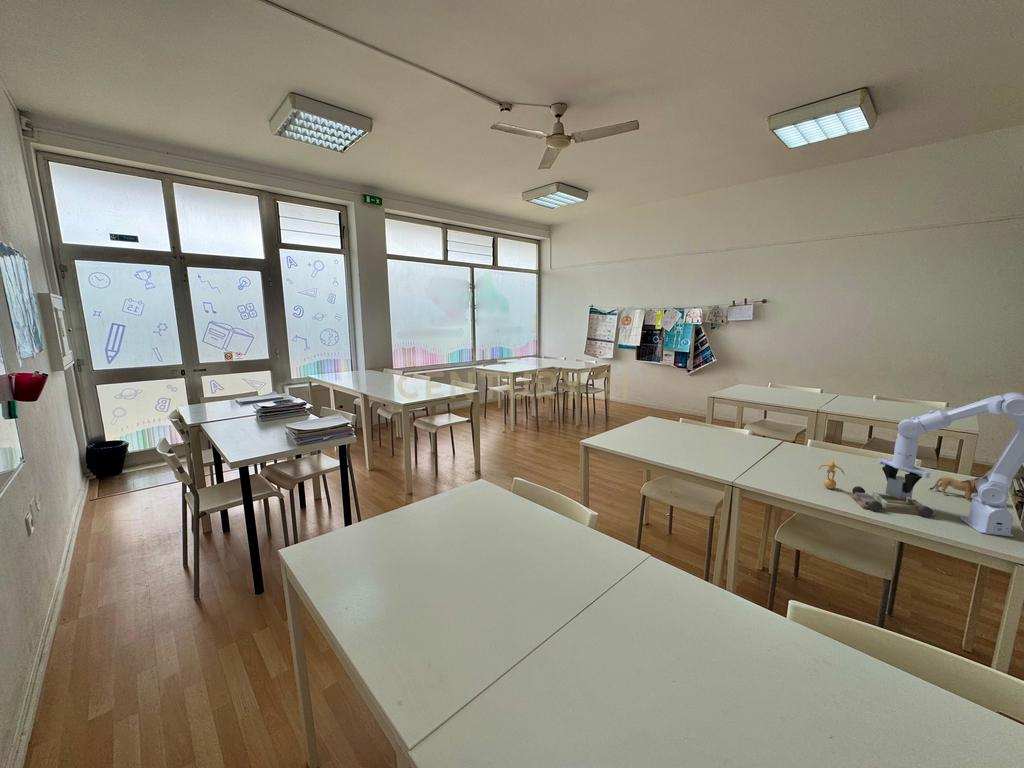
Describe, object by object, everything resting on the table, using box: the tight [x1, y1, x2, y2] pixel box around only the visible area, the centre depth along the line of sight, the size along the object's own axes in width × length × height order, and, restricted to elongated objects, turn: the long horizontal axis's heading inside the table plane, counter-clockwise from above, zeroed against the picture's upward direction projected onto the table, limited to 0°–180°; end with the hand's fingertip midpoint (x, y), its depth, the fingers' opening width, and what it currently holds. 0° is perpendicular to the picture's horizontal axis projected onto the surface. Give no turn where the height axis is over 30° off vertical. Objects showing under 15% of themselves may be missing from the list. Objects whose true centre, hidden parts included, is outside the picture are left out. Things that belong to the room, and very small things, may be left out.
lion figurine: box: [929, 476, 982, 503], centre depth 155 cm, size 15×5×9 cm, turn 45°
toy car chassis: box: [848, 485, 936, 518], centre depth 149 cm, size 13×20×4 cm
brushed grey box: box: [885, 475, 914, 499], centre depth 148 cm, size 4×6×6 cm
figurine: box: [818, 460, 845, 489], centre depth 162 cm, size 8×6×12 cm
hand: (898, 489), depth 148 cm, fingers closed on brushed grey box, 4 cm apart
